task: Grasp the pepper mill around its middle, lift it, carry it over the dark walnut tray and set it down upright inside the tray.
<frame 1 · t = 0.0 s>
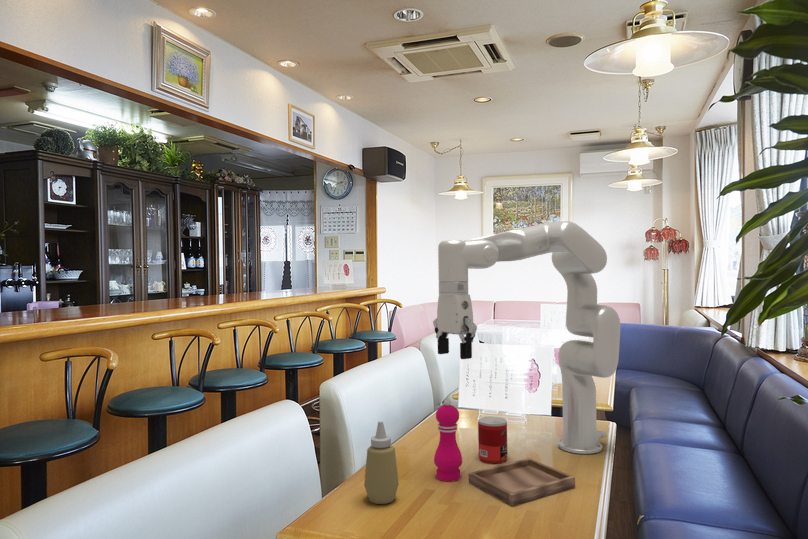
hand: (454, 356, 140), 31 cm above the table, tool pointing down, fingers open, 9 cm apart
pepper mill: (448, 477, 141), on the table
canned food: (492, 460, 154), on the table
squeeze bottle: (381, 500, 128), on the table
walnut tray: (521, 485, 135), on the table
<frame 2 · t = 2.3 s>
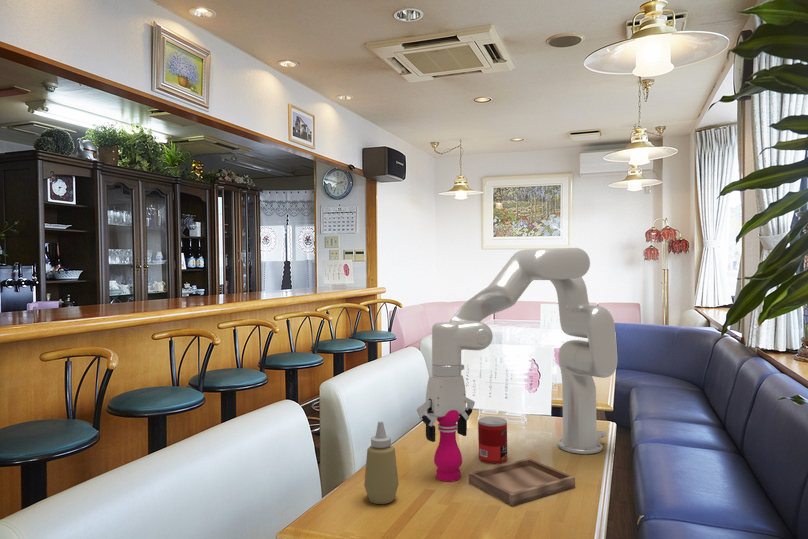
hand: (446, 437, 141), 10 cm above the table, tool pointing down, fingers open, 9 cm apart
nothing on the table moved.
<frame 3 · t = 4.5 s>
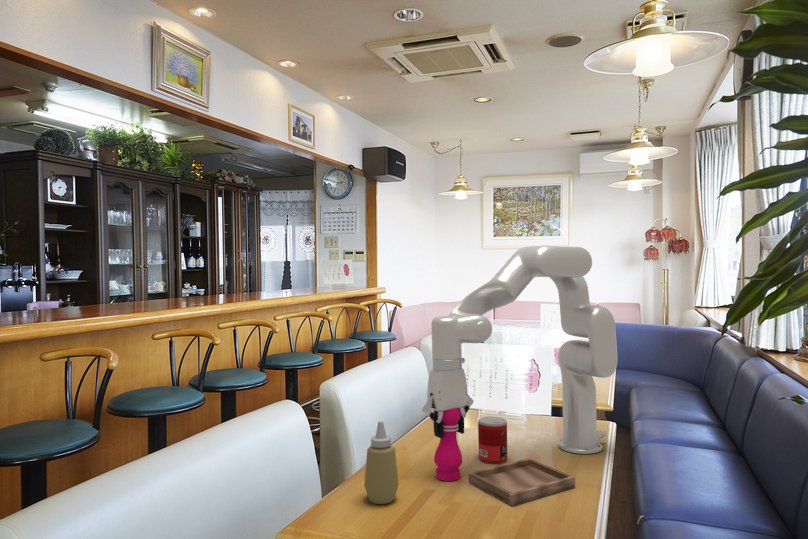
hand: (449, 433, 141), 11 cm above the table, tool pointing down, fingers closed on pepper mill, 5 cm apart
pepper mill: (447, 477, 141), on the table, touching gripper
everything else where it was.
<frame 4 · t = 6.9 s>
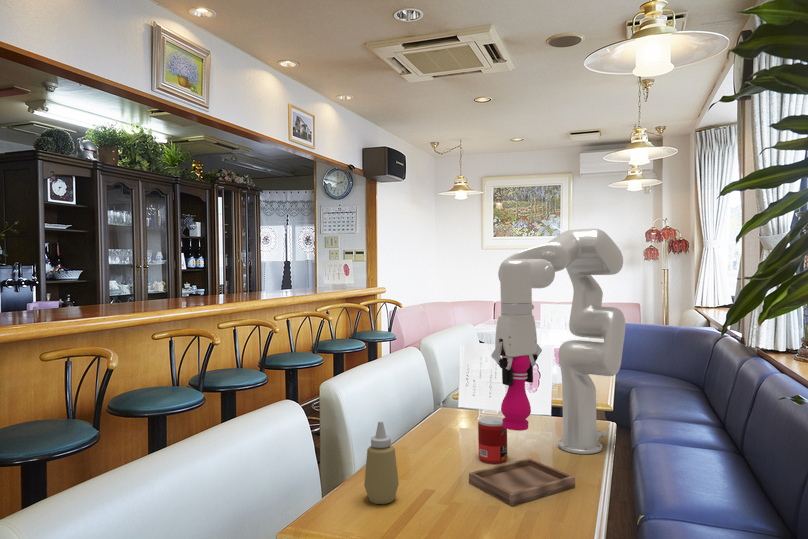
hand: (517, 382, 135), 25 cm above the table, tool pointing down, fingers closed on pepper mill, 5 cm apart
pepper mill: (515, 428, 135), point 14 cm above the table, touching gripper
everything else where it was.
when the fingers open (12 cm above the table, at t = 9.4 s): pepper mill stays where it is, resting on walnut tray.
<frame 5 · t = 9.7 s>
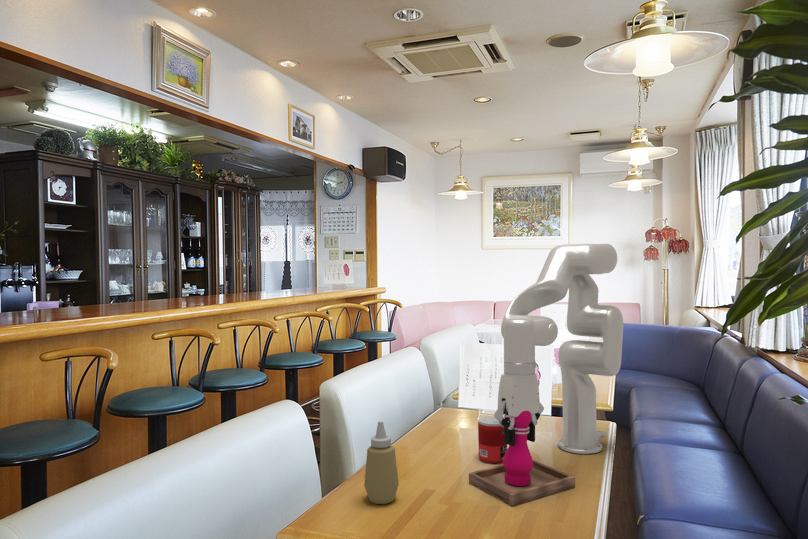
hand: (519, 441, 135), 11 cm above the table, tool pointing down, fingers open, 5 cm apart
pepper mill: (517, 482, 134), point 1 cm above the table, touching gripper, walnut tray
everything else where it was.
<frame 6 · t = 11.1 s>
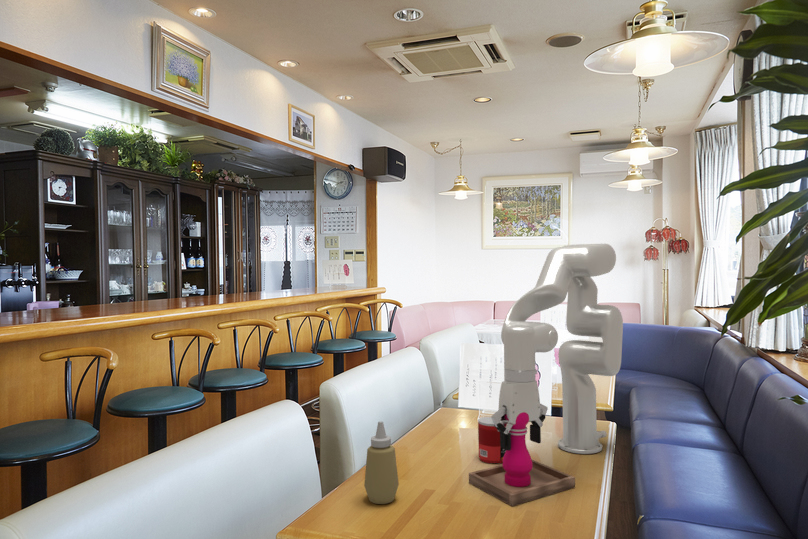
hand: (520, 445, 135), 10 cm above the table, tool pointing down, fingers open, 9 cm apart
pepper mill: (517, 483, 134), point 1 cm above the table, touching walnut tray
everything else where it was.
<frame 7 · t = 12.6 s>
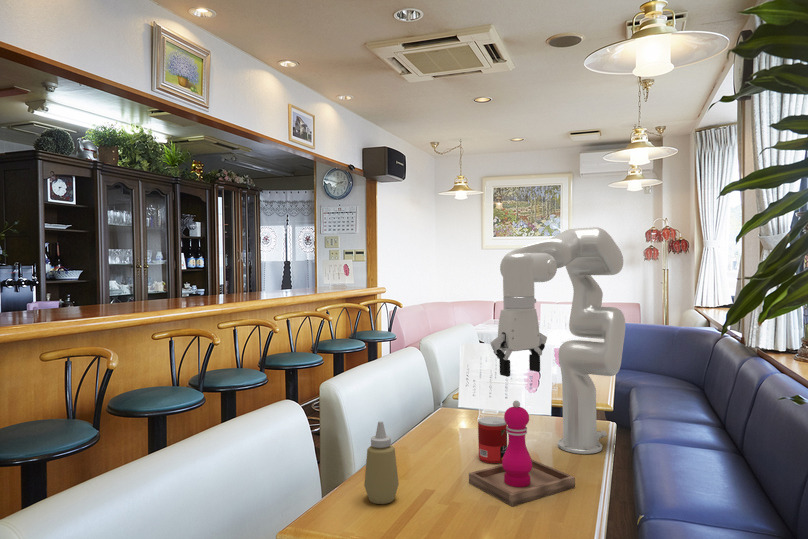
hand: (520, 373, 135), 27 cm above the table, tool pointing down, fingers open, 9 cm apart
nothing on the table moved.
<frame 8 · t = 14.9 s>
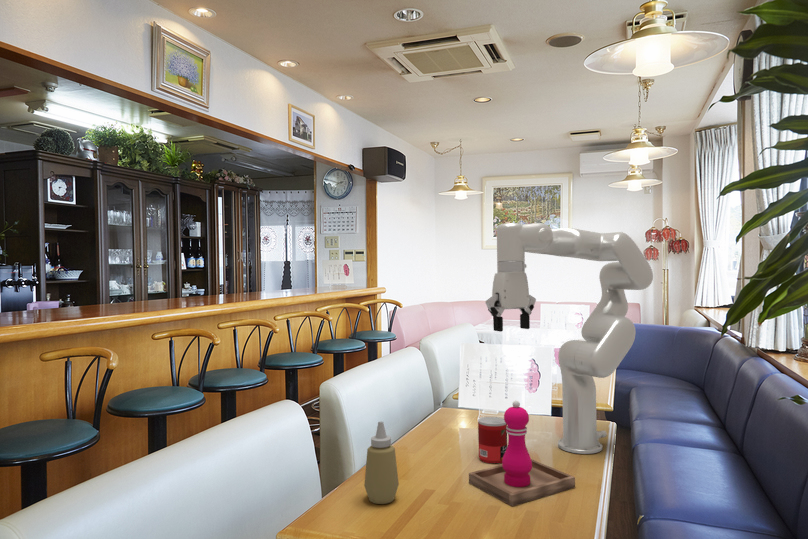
hand: (511, 329, 152), 36 cm above the table, tool pointing down, fingers open, 9 cm apart
nothing on the table moved.
at the end: pepper mill inside the target area on the walnut tray (1.3 cm from its centre), point 0.8 cm above the walnut tray's base; pepper mill tilted 0°; the gripper is holding nothing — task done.
